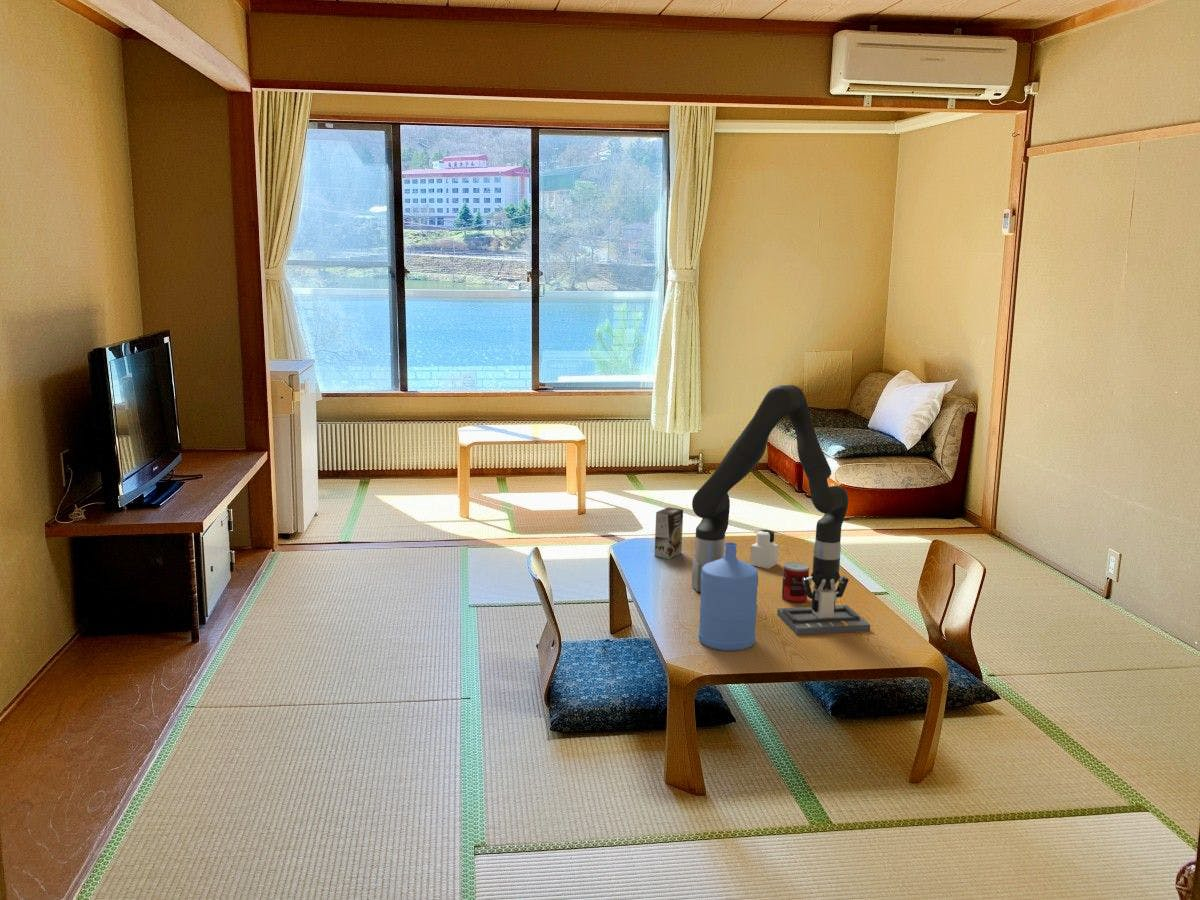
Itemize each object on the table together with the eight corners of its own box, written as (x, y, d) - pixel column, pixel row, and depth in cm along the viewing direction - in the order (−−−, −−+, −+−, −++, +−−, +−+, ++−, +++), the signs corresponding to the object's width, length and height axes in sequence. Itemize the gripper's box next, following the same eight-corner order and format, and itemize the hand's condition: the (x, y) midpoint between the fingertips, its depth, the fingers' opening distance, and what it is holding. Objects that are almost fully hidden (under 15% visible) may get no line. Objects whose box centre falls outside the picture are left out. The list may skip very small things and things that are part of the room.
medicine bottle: (759, 560, 352) (760, 526, 349) (777, 564, 348) (779, 530, 345) (749, 565, 346) (751, 531, 343) (768, 569, 342) (770, 535, 339)
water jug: (764, 648, 275) (769, 550, 269) (711, 654, 271) (715, 554, 265) (740, 627, 290) (745, 534, 284) (689, 633, 285) (693, 538, 280)
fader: (820, 619, 291) (821, 592, 289) (812, 612, 297) (813, 585, 295) (833, 618, 292) (835, 592, 290) (825, 611, 297) (826, 585, 296)
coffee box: (669, 559, 350) (671, 514, 347) (653, 556, 354) (655, 511, 350) (682, 553, 358) (684, 509, 354) (666, 549, 361) (668, 506, 358)
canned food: (790, 593, 319) (792, 559, 317) (812, 599, 314) (814, 565, 311) (776, 598, 314) (778, 565, 312) (798, 605, 308) (800, 571, 306)
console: (797, 635, 285) (797, 624, 284) (777, 614, 300) (777, 604, 300) (869, 631, 289) (870, 620, 288) (846, 611, 304) (847, 601, 304)
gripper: (808, 559, 285) (804, 616, 289) (855, 557, 288) (851, 614, 291) (798, 551, 293) (795, 607, 296) (844, 549, 295) (840, 605, 299)
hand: (823, 610), depth 294 cm, fingers closed on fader, 4 cm apart
